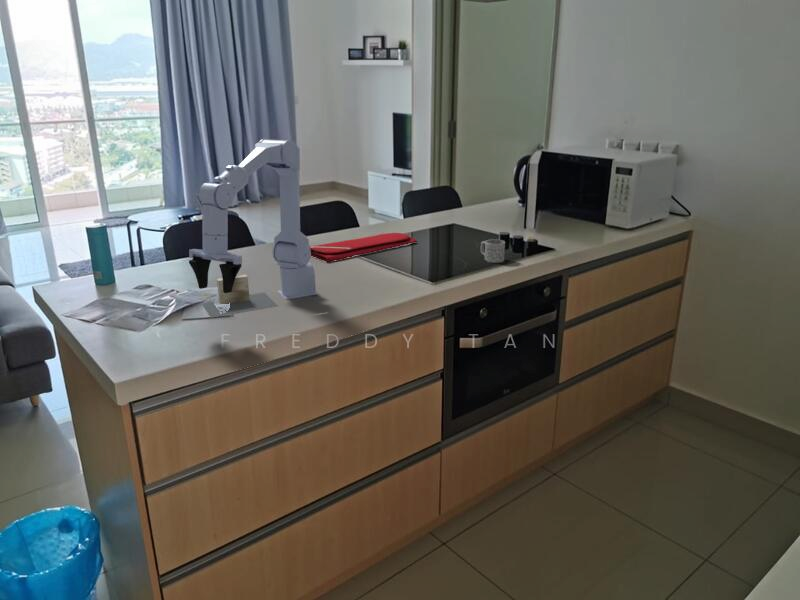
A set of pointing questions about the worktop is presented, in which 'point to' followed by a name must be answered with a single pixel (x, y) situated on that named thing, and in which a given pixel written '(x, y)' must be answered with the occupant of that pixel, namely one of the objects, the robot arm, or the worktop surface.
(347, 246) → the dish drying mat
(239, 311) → the rubber mat
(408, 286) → the worktop surface
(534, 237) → the worktop surface
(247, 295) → the maple tile
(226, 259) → the robot arm
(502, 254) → the mug
